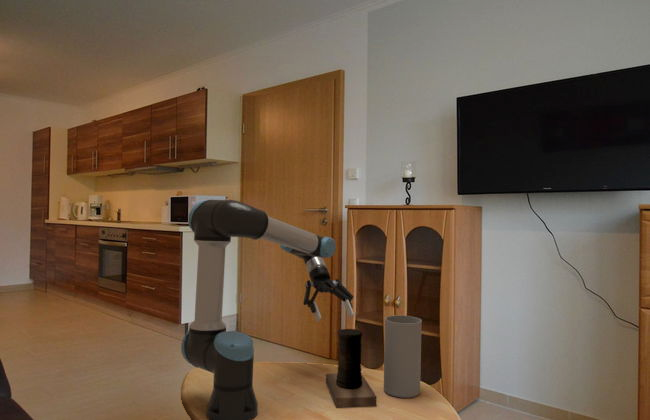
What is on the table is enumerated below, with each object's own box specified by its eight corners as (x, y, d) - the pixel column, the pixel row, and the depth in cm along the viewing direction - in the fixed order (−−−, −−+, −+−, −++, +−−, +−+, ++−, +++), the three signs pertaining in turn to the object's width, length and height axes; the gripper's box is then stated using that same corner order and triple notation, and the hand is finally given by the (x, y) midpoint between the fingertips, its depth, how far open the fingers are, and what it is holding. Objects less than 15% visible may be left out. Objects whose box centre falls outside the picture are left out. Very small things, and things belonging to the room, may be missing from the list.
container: (336, 379, 160) (336, 327, 160) (361, 380, 160) (362, 328, 160) (335, 389, 151) (336, 334, 151) (362, 389, 151) (363, 335, 151)
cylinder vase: (387, 382, 166) (388, 314, 166) (421, 387, 162) (423, 317, 162) (380, 395, 154) (382, 321, 154) (418, 401, 150) (419, 325, 150)
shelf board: (336, 407, 143) (336, 398, 143) (325, 382, 165) (326, 373, 165) (376, 406, 145) (376, 396, 145) (360, 381, 167) (361, 372, 167)
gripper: (342, 276, 186) (361, 320, 173) (285, 278, 174) (301, 327, 161) (349, 264, 182) (369, 309, 168) (291, 266, 170) (308, 315, 156)
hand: (336, 318), depth 165 cm, fingers open, 13 cm apart
